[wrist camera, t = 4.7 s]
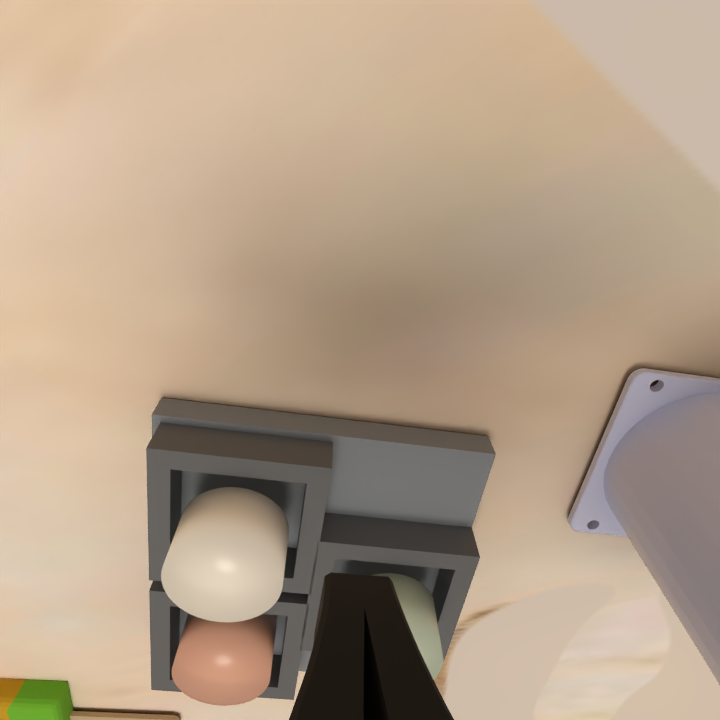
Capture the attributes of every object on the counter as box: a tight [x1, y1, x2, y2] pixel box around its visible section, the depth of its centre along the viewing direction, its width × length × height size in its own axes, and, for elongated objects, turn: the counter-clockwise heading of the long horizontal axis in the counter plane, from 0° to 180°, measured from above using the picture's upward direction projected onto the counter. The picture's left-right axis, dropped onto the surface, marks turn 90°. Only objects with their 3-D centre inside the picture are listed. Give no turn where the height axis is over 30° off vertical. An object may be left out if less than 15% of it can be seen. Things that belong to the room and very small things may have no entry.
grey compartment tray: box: [146, 398, 496, 700], centre depth 24 cm, size 13×14×3 cm
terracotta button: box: [172, 613, 277, 705], centre depth 24 cm, size 4×4×2 cm
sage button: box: [373, 573, 443, 680], centre depth 22 cm, size 4×4×2 cm
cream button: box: [161, 487, 289, 622], centre depth 19 cm, size 4×4×2 cm
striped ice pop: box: [0, 678, 180, 720], centre depth 30 cm, size 6×15×2 cm, turn 84°
